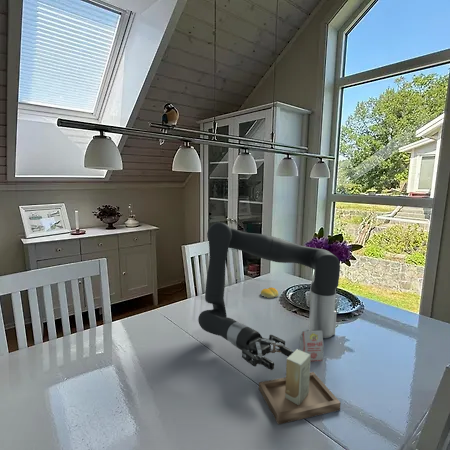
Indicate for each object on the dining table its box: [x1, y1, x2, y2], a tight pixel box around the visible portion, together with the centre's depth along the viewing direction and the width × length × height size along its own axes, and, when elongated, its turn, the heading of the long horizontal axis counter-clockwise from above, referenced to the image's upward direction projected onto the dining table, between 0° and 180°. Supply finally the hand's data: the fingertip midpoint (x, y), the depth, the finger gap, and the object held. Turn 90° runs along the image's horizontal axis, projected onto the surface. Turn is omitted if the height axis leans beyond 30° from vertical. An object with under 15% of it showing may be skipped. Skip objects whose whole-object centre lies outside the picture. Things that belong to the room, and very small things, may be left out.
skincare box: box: [285, 348, 311, 405], centre depth 82 cm, size 6×4×12 cm
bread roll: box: [260, 287, 279, 299], centre depth 155 cm, size 8×9×4 cm
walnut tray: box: [258, 371, 341, 425], centre depth 83 cm, size 18×13×2 cm
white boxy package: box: [299, 330, 324, 363], centre depth 101 cm, size 4×7×10 cm, turn 94°
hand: (283, 360), depth 86 cm, fingers open, 8 cm apart
